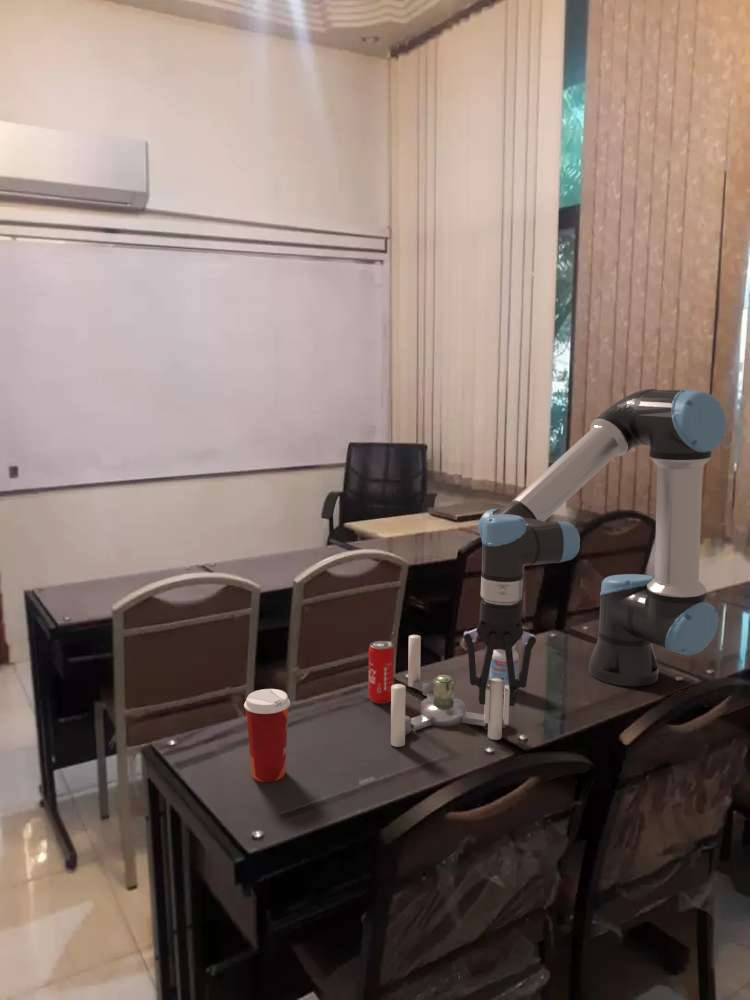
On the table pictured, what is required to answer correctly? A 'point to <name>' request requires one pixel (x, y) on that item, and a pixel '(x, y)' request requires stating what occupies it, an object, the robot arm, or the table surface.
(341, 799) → the table surface
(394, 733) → the knob
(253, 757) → the paper cup
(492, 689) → the knob
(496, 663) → the pill bottle
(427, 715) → the levelling base
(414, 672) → the white lever handle
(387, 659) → the beverage can
